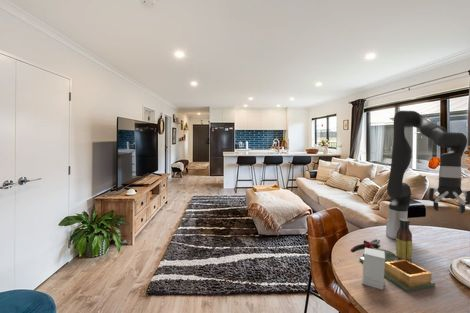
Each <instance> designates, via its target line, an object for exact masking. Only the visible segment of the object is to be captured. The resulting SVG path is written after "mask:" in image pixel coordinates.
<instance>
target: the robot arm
mask: <svg viewBox="0 0 470 313" xmlns="http://www.w3.org/2000/svg"><path fill="white" fill-rule="evenodd" d="M410 127H411V128H412V127H413V128H417V129H418V130H419V131H420V133H421V134H422V135H423V136H425V138H429V139H430V140H432V141H433V143H434V144H435V145H436V146H438V147H441V148H443V149H445V148H446V149H449V151H448V152H446V153H445V152H444V153H442V154H440V157H439V158H440V161H439V162H440V163H439V168H438V169H439V170H438V187H437V188H435V187H429V189H428V190H429V191H428V200H429V201H431V202H433V203H432V204H433V209H434V211H437V212H438V211H439V202H440V201H441V200H442V199H447V200H448V199H451V200H457V202H459V210H458V212H459V214H464V213H465V212H466V206H467V205H470V190H468V189H466V190H462V174H463V173H462V157H463V155H464V152H465V150H466V148H467V145H468V138H467V136H466V134H465V133H462V132H456V131H455V132H450V131H449V132H448V129H447V128H446V127H444V126H441V125H439V124H437V123H434V122H433V121H430V120H429V119H427V118H426V117H424V116H423V115H422V114H421V113H419V112H417V111H415V110H398V111H397V112H395V114H394V116H393V141H392V142H393V143H392V150H391V161H390V162H391V163H390V171H389V178H388V182H387V186H386V192H387V194H388V196H389V197H390V198H391V199H392V201H391V202H389V204H388V216H387V218H388V219H387V220H386V228H385V229H386V230H385V236H387V237H388V238H390V239H392V240H396V237H397V231H398V230H399V228H400V222H399V219H408V213H409V212H408V211H409V207H410V204H411V198H412V189H411V187H410V185H409V184H408V183H406V182H403V179H404V175H405V173H406V171H407V169H408V168H409V166H410V164H411V160H412V152H413V150H412V148H411V145H410V143H409V141H408V140H407V138H406V134H405V128H410ZM436 192H437V193H438V194H437V195H436V197H435V198H434V194H435V193H436ZM462 194H463V195H464V198H465V201H464V200H463V199H462V197H461V196H460V195H462Z"/></svg>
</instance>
